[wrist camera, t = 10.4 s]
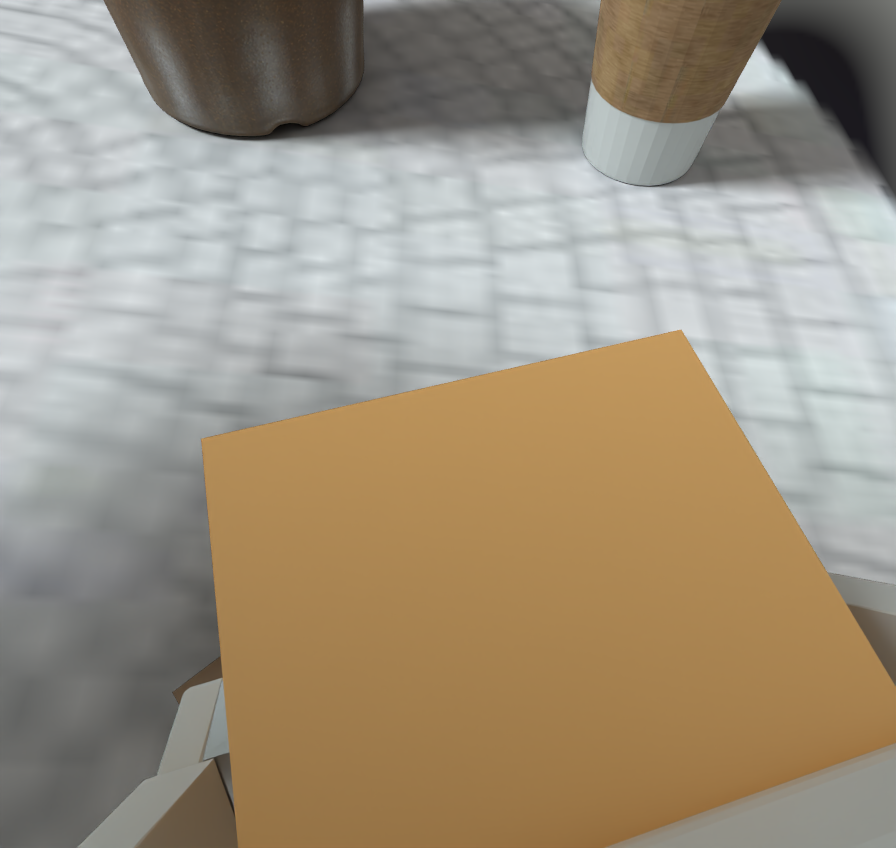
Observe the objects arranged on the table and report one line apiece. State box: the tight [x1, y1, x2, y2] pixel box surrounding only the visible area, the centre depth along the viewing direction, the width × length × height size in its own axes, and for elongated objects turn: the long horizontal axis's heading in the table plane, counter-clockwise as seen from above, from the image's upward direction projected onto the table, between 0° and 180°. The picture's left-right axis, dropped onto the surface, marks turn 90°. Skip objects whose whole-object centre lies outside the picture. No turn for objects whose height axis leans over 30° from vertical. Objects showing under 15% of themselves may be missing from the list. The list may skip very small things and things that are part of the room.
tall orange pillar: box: [201, 330, 896, 848], centre depth 9 cm, size 6×6×9 cm
